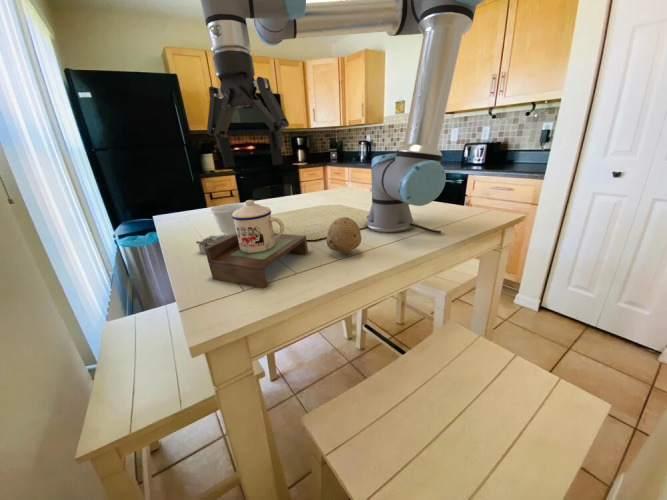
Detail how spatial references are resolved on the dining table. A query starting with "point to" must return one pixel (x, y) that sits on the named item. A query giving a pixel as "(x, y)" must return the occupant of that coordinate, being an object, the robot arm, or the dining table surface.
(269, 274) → the dining table surface
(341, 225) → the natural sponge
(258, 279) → the shelf
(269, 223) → the teacup with lid
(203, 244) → the egg carton
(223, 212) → the teacup
